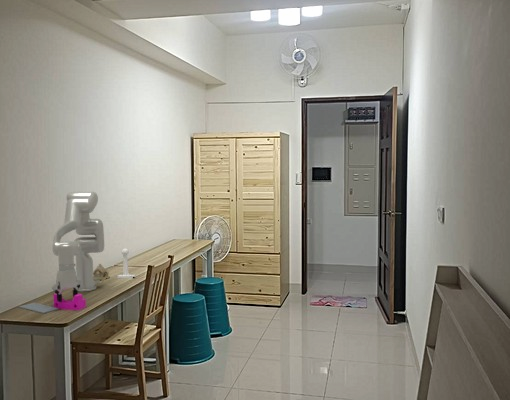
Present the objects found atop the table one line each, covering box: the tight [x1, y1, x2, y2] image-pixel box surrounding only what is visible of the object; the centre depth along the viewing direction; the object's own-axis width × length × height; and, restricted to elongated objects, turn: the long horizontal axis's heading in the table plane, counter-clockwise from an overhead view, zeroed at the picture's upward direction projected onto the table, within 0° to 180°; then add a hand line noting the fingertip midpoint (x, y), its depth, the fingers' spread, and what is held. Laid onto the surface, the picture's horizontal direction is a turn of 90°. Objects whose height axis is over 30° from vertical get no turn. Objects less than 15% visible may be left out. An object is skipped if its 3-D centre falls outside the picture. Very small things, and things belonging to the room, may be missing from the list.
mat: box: [18, 302, 60, 314], centre depth 287 cm, size 9×22×1 cm, turn 55°
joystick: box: [116, 247, 136, 278], centre depth 358 cm, size 11×8×20 cm
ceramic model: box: [93, 263, 110, 282], centre depth 358 cm, size 14×11×10 cm
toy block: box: [52, 293, 87, 311], centre depth 287 cm, size 15×6×8 cm, turn 73°
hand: (67, 299), depth 288 cm, fingers open, 9 cm apart
